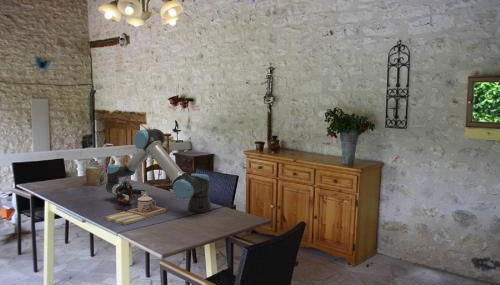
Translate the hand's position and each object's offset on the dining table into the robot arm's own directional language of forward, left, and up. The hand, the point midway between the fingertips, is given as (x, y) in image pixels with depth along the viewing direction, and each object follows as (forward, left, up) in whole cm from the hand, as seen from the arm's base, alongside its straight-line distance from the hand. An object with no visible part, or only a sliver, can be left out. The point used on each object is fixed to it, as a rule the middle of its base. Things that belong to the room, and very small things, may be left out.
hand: (138, 196), depth 262 cm
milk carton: (+82, -30, -9) cm, 88 cm away
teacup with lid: (-10, +2, -9) cm, 13 cm away
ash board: (-10, +19, -8) cm, 23 cm away
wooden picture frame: (-10, +2, -8) cm, 13 cm away
